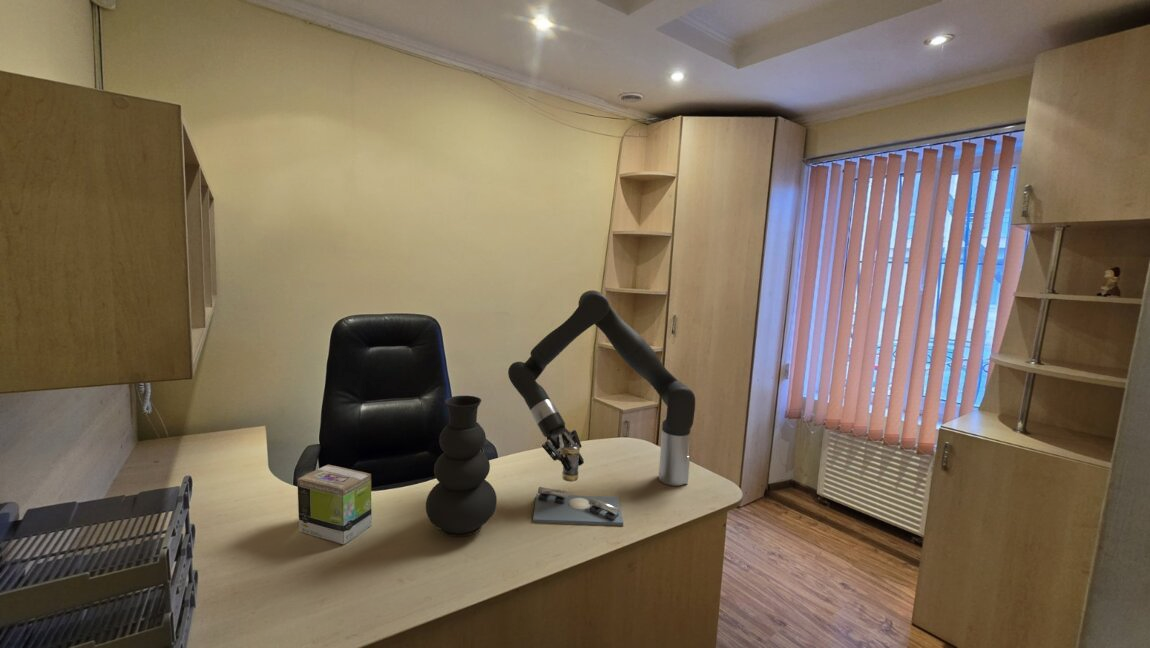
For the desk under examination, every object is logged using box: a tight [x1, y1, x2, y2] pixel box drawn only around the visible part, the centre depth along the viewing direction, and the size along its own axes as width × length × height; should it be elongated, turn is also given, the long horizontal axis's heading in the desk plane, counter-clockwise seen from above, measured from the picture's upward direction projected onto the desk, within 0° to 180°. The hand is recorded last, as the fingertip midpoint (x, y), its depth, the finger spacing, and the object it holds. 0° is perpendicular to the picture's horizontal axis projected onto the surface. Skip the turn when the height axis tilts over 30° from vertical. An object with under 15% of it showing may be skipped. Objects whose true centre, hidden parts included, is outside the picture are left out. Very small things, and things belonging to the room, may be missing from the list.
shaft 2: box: [589, 498, 619, 521], centre depth 134 cm, size 9×4×4 cm, turn 56°
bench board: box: [532, 493, 624, 527], centre depth 136 cm, size 25×14×1 cm, turn 91°
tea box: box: [296, 464, 373, 545], centre depth 121 cm, size 15×10×15 cm, turn 71°
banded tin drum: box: [561, 443, 581, 483], centre depth 139 cm, size 5×5×10 cm
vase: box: [425, 395, 498, 537], centre depth 123 cm, size 18×18×35 cm
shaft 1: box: [537, 486, 570, 504], centre depth 140 cm, size 9×4×4 cm, turn 76°
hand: (575, 466), depth 138 cm, fingers closed on banded tin drum, 4 cm apart
